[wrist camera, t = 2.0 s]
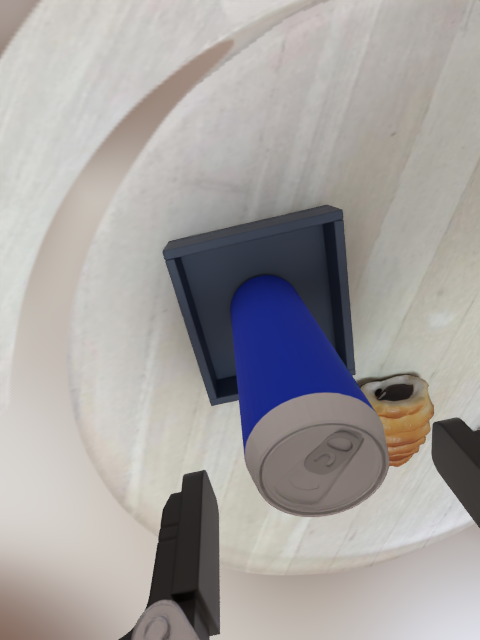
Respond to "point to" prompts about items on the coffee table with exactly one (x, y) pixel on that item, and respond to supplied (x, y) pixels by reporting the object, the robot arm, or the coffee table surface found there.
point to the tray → (252, 261)
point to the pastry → (401, 414)
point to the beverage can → (301, 407)
